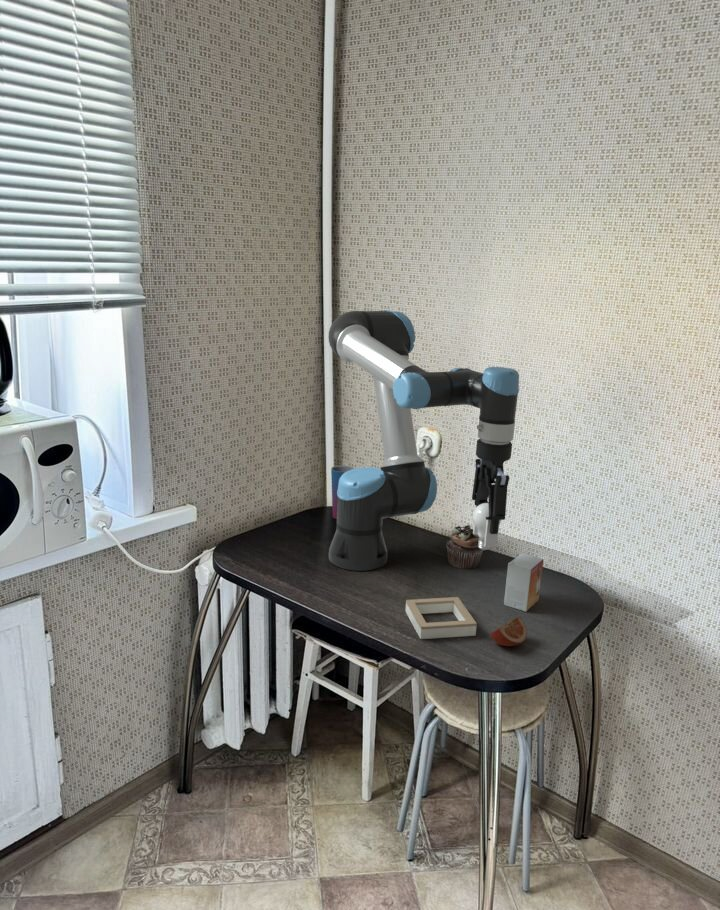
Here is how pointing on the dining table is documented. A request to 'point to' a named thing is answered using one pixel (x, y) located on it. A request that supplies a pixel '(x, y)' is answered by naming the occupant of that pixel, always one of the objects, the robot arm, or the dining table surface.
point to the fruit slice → (510, 633)
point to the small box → (523, 582)
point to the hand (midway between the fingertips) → (484, 539)
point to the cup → (336, 474)
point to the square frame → (440, 629)
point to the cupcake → (463, 548)
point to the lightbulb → (481, 523)
